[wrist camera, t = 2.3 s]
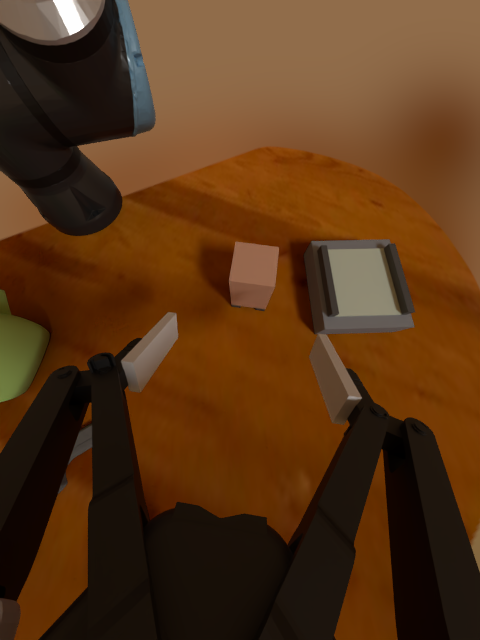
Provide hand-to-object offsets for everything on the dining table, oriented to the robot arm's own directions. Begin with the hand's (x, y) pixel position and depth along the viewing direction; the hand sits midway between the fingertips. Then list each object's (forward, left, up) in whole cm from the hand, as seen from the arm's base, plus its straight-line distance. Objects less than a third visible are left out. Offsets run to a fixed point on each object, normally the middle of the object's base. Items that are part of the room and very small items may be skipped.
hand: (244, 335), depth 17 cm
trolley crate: (-11, +2, -15) cm, 18 cm away
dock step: (-11, +20, -15) cm, 27 cm away
